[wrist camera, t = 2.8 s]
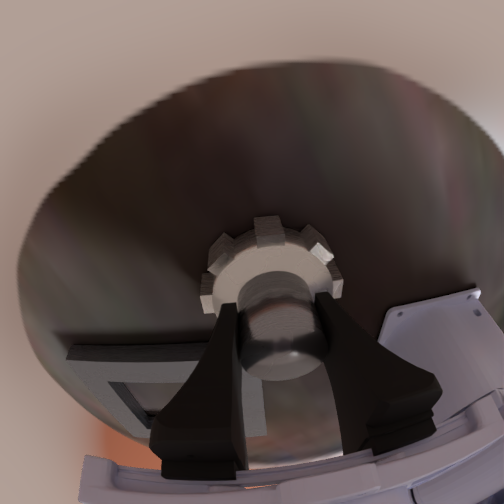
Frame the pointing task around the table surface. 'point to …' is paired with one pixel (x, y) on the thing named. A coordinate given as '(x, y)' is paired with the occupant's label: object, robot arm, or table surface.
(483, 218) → the table surface
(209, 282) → the planet gear
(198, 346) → the carrier plate
